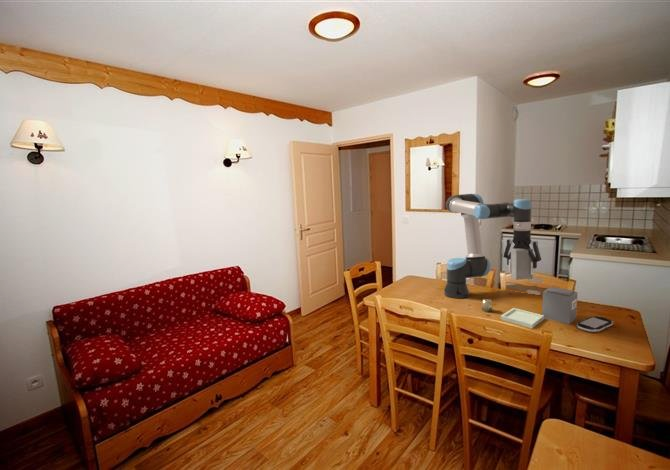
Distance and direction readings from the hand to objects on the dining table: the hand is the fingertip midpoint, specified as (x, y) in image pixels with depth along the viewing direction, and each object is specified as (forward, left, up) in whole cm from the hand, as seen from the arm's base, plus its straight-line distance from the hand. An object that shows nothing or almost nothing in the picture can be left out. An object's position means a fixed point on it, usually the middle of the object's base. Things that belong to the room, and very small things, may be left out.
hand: (521, 272), depth 163 cm
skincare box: (0, 0, -3) cm, 3 cm away
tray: (+2, -2, -24) cm, 25 cm away
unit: (+14, +12, -24) cm, 31 cm away
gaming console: (+28, +13, -25) cm, 40 cm away
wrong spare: (-16, -3, -24) cm, 30 cm away
